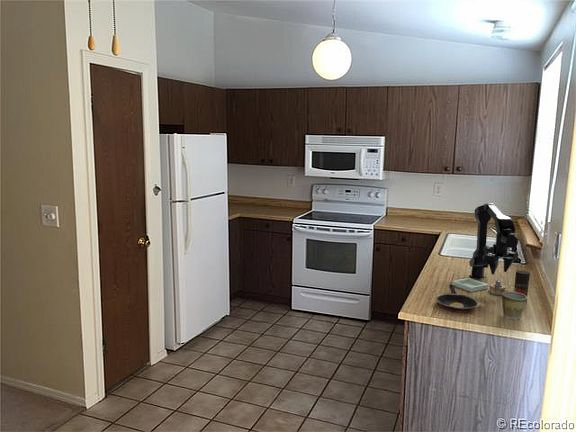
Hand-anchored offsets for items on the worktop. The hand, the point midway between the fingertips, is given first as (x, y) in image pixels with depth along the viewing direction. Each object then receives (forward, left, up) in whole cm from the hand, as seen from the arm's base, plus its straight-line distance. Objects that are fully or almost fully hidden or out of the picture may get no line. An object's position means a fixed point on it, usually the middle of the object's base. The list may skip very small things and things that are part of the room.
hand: (498, 273), depth 237 cm
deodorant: (+2, +14, -10) cm, 18 cm away
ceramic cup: (+20, +24, -10) cm, 33 cm away
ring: (0, 0, -10) cm, 10 cm away
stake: (0, 0, -10) cm, 10 cm away
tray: (+6, -12, -10) cm, 17 cm away
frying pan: (+30, 0, -11) cm, 32 cm away
